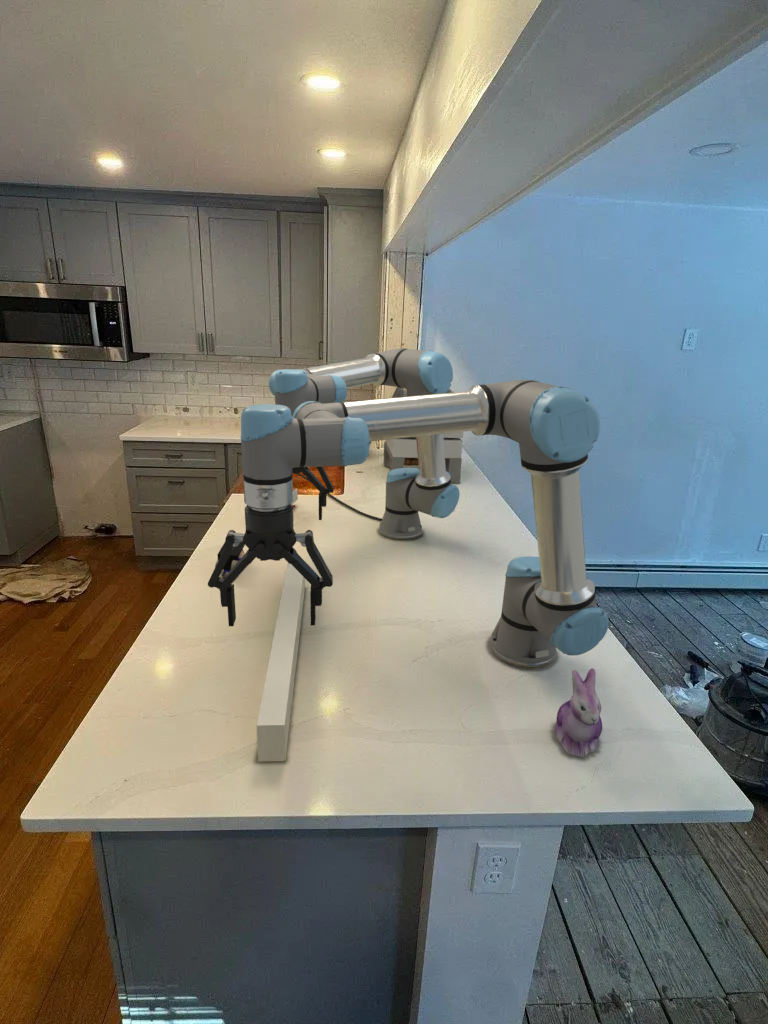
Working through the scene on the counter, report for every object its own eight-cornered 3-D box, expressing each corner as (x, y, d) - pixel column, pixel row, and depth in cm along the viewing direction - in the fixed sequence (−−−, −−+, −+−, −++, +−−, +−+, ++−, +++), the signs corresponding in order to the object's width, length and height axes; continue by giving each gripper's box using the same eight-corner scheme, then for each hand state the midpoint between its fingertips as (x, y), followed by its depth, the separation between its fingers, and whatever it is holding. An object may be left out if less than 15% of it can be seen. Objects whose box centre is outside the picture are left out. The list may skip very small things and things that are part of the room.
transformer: (382, 463, 289) (386, 382, 275) (445, 464, 293) (451, 384, 279) (390, 482, 257) (394, 392, 243) (460, 483, 261) (468, 394, 247)
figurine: (579, 767, 100) (594, 696, 95) (539, 730, 108) (551, 663, 103) (617, 750, 104) (633, 682, 99) (576, 716, 112) (588, 651, 107)
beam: (287, 588, 158) (287, 563, 155) (304, 588, 158) (304, 563, 156) (258, 761, 98) (256, 725, 95) (285, 761, 99) (284, 724, 96)
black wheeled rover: (238, 584, 162) (249, 557, 175) (236, 562, 158) (247, 536, 172) (215, 584, 161) (227, 556, 175) (212, 561, 158) (225, 535, 171)
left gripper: (236, 438, 132) (241, 523, 139) (344, 440, 134) (342, 523, 141) (241, 431, 139) (245, 512, 146) (343, 433, 141) (342, 513, 149)
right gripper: (181, 512, 85) (192, 634, 92) (348, 513, 87) (346, 632, 94) (193, 496, 92) (202, 611, 99) (347, 497, 94) (345, 610, 101)
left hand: (293, 518), depth 144 cm, fingers open, 13 cm apart
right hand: (273, 622), depth 97 cm, fingers open, 13 cm apart
